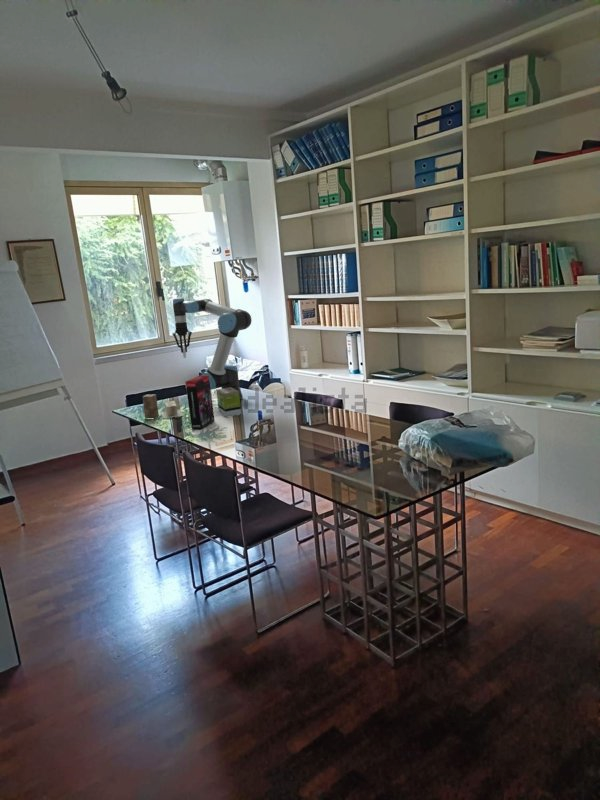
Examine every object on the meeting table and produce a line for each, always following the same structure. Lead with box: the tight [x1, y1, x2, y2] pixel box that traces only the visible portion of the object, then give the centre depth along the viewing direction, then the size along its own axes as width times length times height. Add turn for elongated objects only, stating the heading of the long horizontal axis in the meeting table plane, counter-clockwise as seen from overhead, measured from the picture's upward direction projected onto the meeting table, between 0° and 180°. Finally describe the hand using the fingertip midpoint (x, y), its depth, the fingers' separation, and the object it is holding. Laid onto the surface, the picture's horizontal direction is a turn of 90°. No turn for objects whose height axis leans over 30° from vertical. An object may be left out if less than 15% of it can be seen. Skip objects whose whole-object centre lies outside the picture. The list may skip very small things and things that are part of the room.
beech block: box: [164, 400, 178, 417], centre depth 360 cm, size 6×6×16 cm
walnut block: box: [142, 393, 160, 419], centre depth 352 cm, size 6×6×14 cm
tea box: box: [215, 387, 242, 418], centre depth 349 cm, size 15×10×15 cm
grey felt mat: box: [160, 409, 184, 419], centre depth 359 cm, size 12×18×1 cm, turn 18°
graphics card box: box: [185, 375, 216, 430], centre depth 325 cm, size 17×7×27 cm, turn 163°
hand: (184, 357), depth 390 cm, fingers closed
